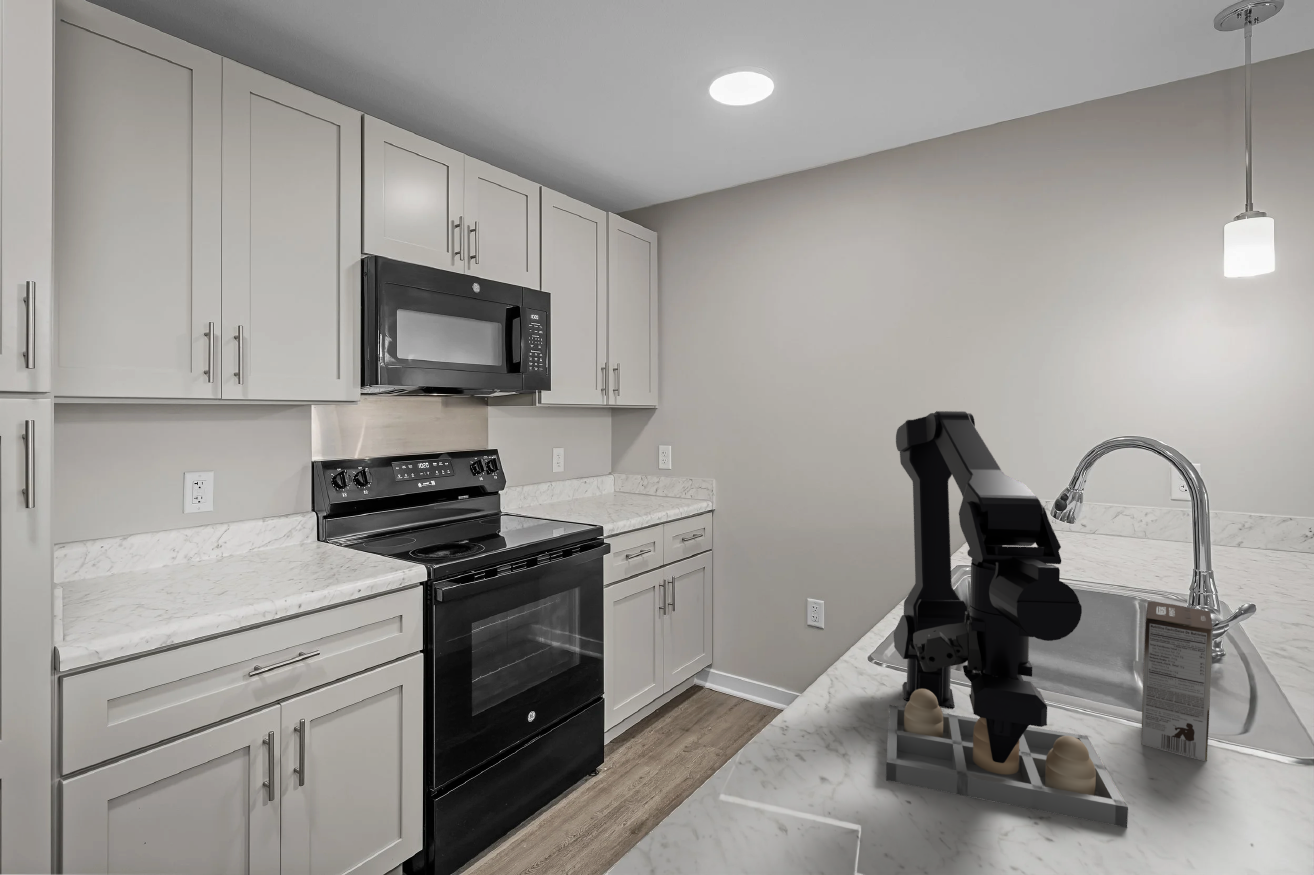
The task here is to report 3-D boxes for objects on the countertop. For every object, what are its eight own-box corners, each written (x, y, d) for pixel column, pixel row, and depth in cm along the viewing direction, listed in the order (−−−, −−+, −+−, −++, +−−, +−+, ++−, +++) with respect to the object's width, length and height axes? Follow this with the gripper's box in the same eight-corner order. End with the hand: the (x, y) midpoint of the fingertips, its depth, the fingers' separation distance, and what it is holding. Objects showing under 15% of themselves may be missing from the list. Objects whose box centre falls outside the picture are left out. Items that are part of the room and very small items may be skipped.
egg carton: (889, 722, 85) (889, 704, 85) (1086, 755, 77) (1087, 735, 77) (886, 783, 71) (886, 761, 71) (1127, 831, 63) (1128, 806, 63)
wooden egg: (970, 749, 73) (972, 695, 73) (1015, 757, 72) (1016, 701, 71) (974, 769, 69) (976, 712, 69) (1021, 777, 68) (1023, 719, 67)
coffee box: (1143, 720, 86) (1147, 599, 85) (1206, 736, 82) (1211, 609, 81) (1138, 747, 79) (1143, 616, 78) (1208, 765, 75) (1213, 627, 74)
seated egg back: (903, 728, 82) (904, 680, 82) (941, 734, 81) (942, 685, 81) (903, 744, 78) (905, 694, 78) (943, 751, 77) (945, 700, 76)
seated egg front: (1041, 780, 71) (1042, 724, 71) (1088, 788, 69) (1090, 731, 69) (1049, 802, 67) (1051, 743, 66) (1100, 812, 65) (1102, 751, 65)
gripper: (917, 580, 81) (914, 702, 82) (920, 625, 64) (916, 780, 65) (1017, 589, 77) (1014, 718, 78) (1050, 640, 60) (1045, 805, 61)
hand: (995, 750), depth 70 cm, fingers closed on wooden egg, 4 cm apart
